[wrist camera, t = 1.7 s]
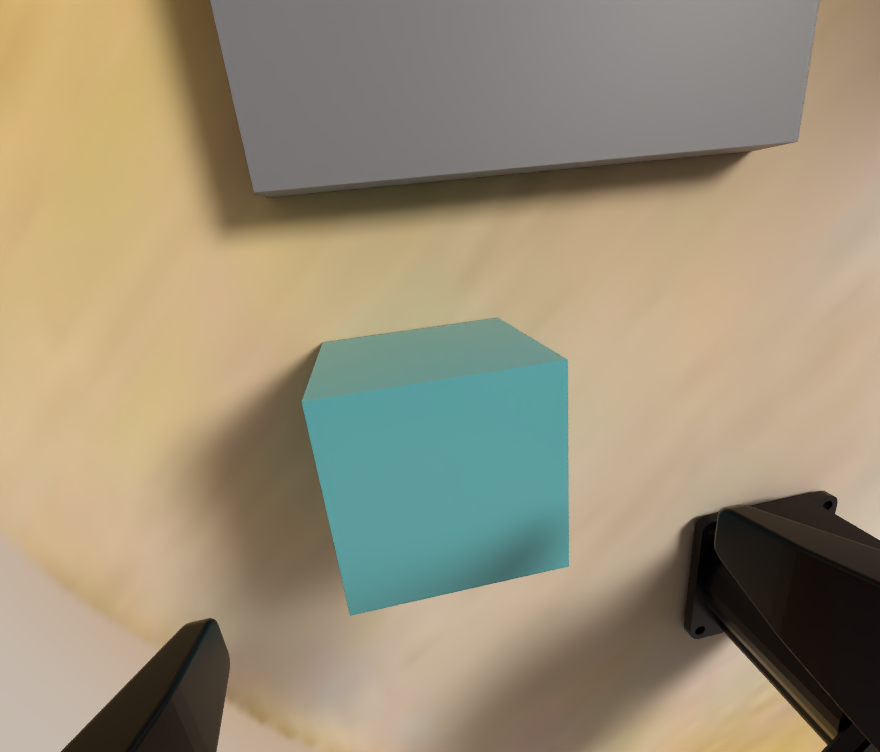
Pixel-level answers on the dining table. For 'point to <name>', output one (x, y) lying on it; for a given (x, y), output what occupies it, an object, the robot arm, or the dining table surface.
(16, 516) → the dining table surface
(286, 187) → the base plate
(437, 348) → the turquoise cube
